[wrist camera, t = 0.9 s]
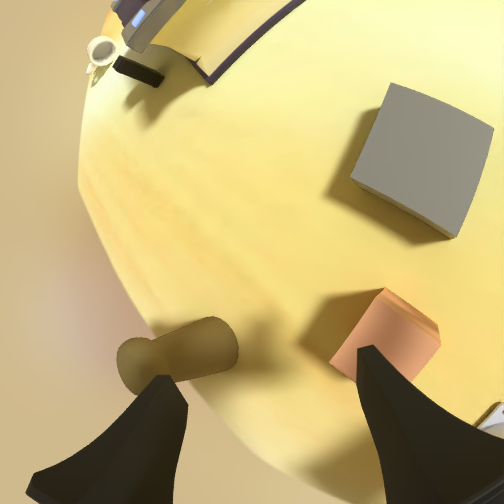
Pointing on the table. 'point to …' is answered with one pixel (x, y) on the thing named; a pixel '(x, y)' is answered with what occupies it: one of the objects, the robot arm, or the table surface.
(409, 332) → the terracotta cube
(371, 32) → the table surface
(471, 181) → the gray block
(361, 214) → the table surface
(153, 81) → the ink cartridge
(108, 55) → the mug
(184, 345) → the cork
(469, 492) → the robot arm
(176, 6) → the book
